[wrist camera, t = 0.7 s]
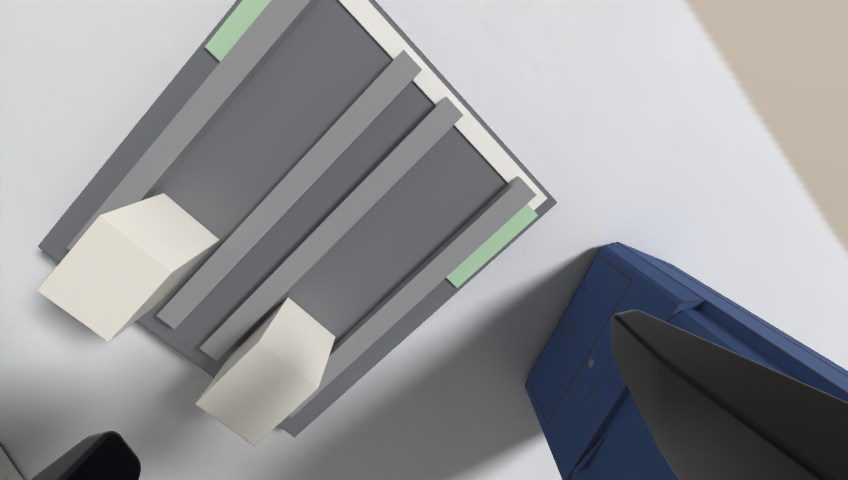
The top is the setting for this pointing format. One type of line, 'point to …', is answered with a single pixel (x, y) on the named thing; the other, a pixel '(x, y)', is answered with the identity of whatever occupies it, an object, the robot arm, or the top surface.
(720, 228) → the top surface
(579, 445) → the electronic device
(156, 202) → the white rectangular block
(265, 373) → the tab
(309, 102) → the switch bank
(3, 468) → the coffee box
